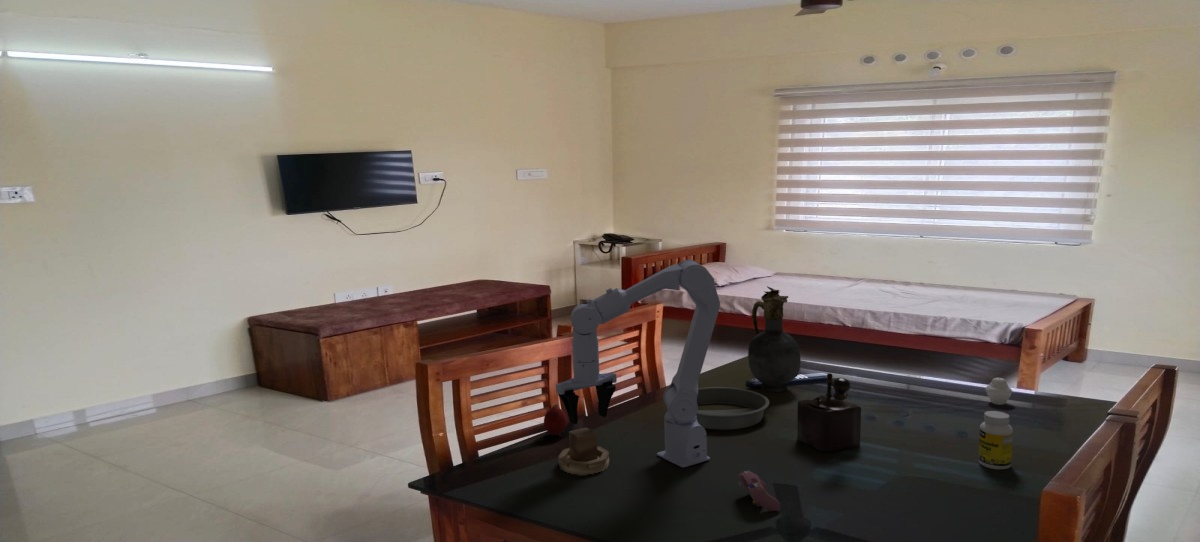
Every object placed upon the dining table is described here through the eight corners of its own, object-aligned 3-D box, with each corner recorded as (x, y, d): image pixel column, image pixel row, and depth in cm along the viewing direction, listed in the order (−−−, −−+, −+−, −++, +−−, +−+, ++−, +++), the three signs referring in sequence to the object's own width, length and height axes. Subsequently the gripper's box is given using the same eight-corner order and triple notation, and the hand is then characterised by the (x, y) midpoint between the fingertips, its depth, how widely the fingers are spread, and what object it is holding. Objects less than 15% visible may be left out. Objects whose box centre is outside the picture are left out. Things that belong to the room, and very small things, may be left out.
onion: (564, 440, 179) (563, 408, 178) (541, 439, 180) (540, 407, 179) (570, 432, 185) (569, 401, 184) (548, 431, 186) (546, 400, 185)
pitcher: (772, 398, 206) (771, 292, 202) (738, 381, 224) (737, 283, 220) (805, 393, 209) (806, 288, 205) (769, 376, 227) (769, 280, 223)
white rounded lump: (987, 398, 200) (988, 373, 200) (1013, 401, 197) (1014, 376, 196) (983, 404, 195) (984, 378, 195) (1009, 408, 192) (1010, 381, 191)
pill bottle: (971, 462, 158) (973, 412, 157) (992, 457, 161) (994, 407, 159) (997, 472, 153) (999, 421, 151) (1018, 467, 155) (1020, 416, 154)
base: (618, 467, 162) (618, 456, 161) (575, 479, 156) (575, 468, 156) (592, 452, 171) (592, 441, 171) (550, 463, 165) (549, 452, 165)
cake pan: (789, 418, 190) (789, 401, 190) (719, 440, 177) (718, 421, 176) (722, 396, 210) (722, 380, 210) (654, 414, 197) (654, 397, 196)
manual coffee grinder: (793, 439, 175) (793, 365, 172) (830, 431, 179) (831, 359, 177) (839, 462, 161) (840, 381, 158) (878, 453, 165) (879, 374, 163)
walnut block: (597, 459, 163) (596, 433, 162) (579, 463, 160) (578, 437, 160) (587, 453, 167) (586, 427, 166) (569, 457, 164) (568, 431, 163)
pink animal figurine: (747, 499, 148) (731, 470, 147) (767, 488, 148) (751, 459, 147) (762, 522, 138) (745, 491, 137) (783, 510, 138) (767, 479, 137)
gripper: (603, 350, 169) (605, 408, 171) (548, 361, 162) (550, 421, 163) (621, 356, 163) (623, 416, 165) (564, 367, 156) (566, 430, 158)
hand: (588, 419), depth 164 cm, fingers open, 7 cm apart
